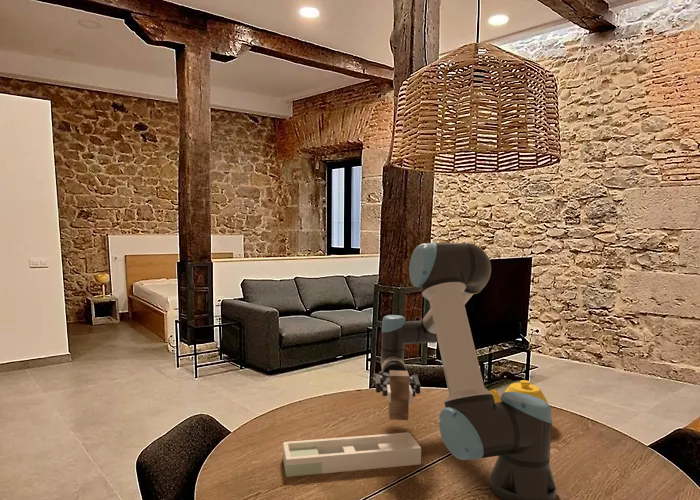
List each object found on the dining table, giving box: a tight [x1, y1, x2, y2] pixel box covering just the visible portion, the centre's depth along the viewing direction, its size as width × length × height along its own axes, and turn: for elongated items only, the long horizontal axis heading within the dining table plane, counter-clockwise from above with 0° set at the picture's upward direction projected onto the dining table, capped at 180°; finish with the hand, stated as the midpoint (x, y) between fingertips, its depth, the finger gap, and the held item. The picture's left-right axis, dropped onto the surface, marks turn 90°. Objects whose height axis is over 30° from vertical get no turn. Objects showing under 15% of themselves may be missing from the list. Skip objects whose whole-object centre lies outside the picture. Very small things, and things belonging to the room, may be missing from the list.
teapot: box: [489, 379, 548, 403], centre depth 160 cm, size 20×16×14 cm
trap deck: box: [282, 431, 422, 478], centre depth 132 cm, size 36×10×4 cm, turn 103°
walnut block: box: [388, 370, 410, 421], centre depth 134 cm, size 5×5×12 cm
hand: (400, 397), depth 128 cm, fingers closed on walnut block, 5 cm apart
